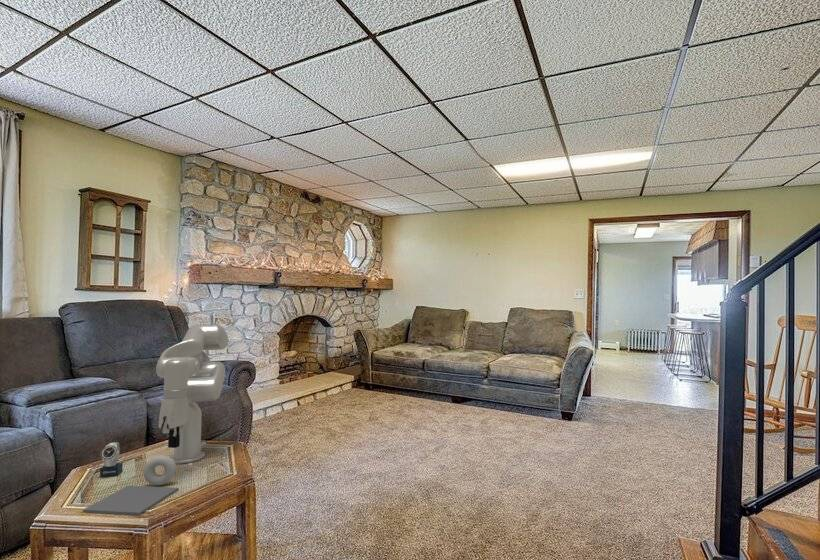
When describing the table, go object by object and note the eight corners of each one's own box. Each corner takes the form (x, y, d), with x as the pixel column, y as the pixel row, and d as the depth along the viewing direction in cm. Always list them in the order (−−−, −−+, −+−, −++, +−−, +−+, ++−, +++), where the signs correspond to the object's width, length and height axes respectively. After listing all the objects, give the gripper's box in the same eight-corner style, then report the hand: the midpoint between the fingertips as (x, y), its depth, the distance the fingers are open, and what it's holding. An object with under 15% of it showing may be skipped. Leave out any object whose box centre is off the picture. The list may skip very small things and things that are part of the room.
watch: (97, 479, 147) (98, 447, 147) (107, 471, 154) (108, 440, 155) (115, 478, 148) (117, 446, 149) (124, 469, 156) (125, 439, 157)
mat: (127, 488, 140) (128, 485, 140) (178, 490, 138) (178, 487, 138) (82, 512, 123) (82, 509, 123) (139, 515, 121) (139, 512, 121)
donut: (140, 489, 139) (141, 457, 140) (145, 484, 142) (146, 454, 143) (173, 486, 141) (174, 455, 142) (177, 481, 144) (178, 452, 145)
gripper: (179, 390, 158) (177, 440, 156) (151, 398, 143) (148, 453, 142) (198, 390, 157) (196, 441, 156) (171, 398, 143) (169, 454, 141)
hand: (173, 446), depth 149 cm, fingers closed
